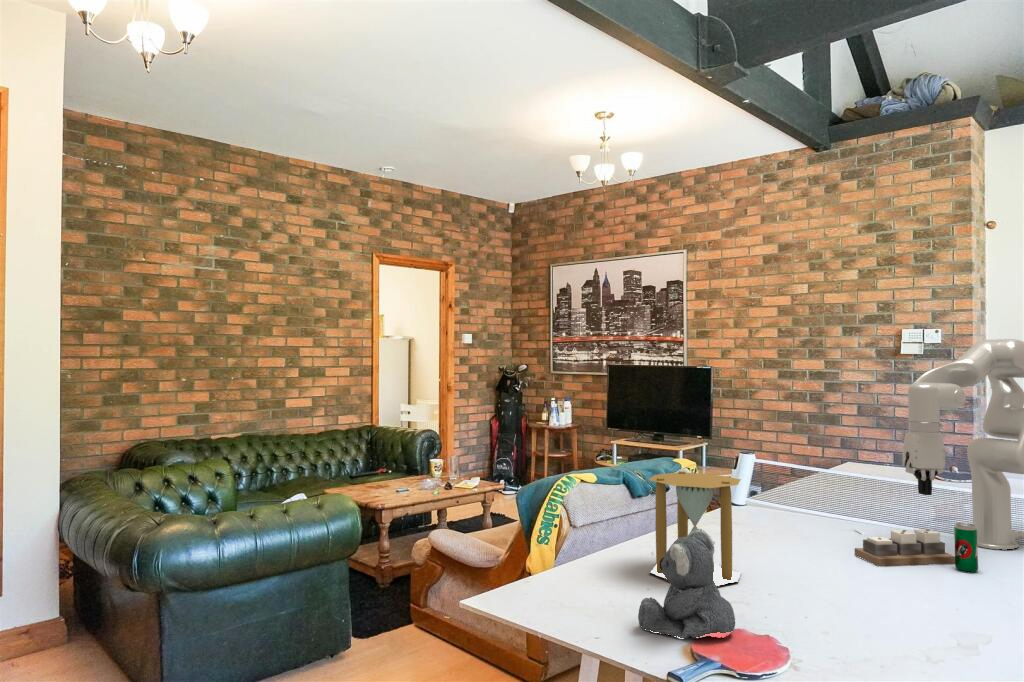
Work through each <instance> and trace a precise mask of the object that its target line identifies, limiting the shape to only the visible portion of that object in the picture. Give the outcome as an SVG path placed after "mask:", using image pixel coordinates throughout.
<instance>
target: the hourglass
mask: <svg viewBox="0 0 1024 682" xmlns="http://www.w3.org/2000/svg"><path fill="white" fill-rule="evenodd" d="M647 480H648V481H651V482H654V483H656V484H655V558H656V559H655V560H656V563H655V564H657V572H658V573H663V572H662V570H661V569H660V560H661V559H662V558H663V557H665V555H666V553H667V551H668V550H667V547H668V546H667V543H668V542H667V538H668V532H667V531H668V528H667V526H668V525H667V523H668V521H667V489H666V485H670V486H675V492H676V493H675V494H676V497H677V500H676V502H677V505H676V506H677V510H676V511H677V513H676V515H677V523H676V524H677V539H679V538H681V537H682V538H683V537H689V535H690V534H691V531H692V532H694V530H697V531H698V529H699V528H698V527H697V525H698V523H699V522H700V520H701V518H702V517H703V515H704V513H705V512H706V510H707V509H708V506H710V504H711V502H712V501H713V500H712V499H713V498H714V497H713V496H714V495H713V494H714V489H715V488H720V558H721V559H720V560H721V563H720V565H721V568H722V577H723V579H727V580H731V577H732V569H733V510H732V507H733V506H732V489H731V487H732V486H733V487H734V486H738V485H739V484H740V481H741V479H740V478H735V477H730V476H725V475H719V474H712V473H699V472H698V473H697V472H686V471H683V470H680V471H678V472H670V473H669V472H668V473H659V474H654V475H653V476H651V477H650V478H649V479H647ZM689 521H690V522H691V523H692V525H693V527H692V528H691V530H690V532H689ZM712 559H713V569H714V563H715V561H714V556H713V557H712Z"/></svg>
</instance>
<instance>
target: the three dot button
mask: <svg viewBox="0 0 1024 682" xmlns="http://www.w3.org/2000/svg"><path fill="white" fill-rule="evenodd" d="M890 539H891V540H892V541H895V542H898V543H900V544H912V543H916V534H915V533H914V532H911V531H909V530H907V529H897V530H896V529H895V530H894V529H892V530H890Z"/></svg>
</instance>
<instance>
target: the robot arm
mask: <svg viewBox="0 0 1024 682" xmlns="http://www.w3.org/2000/svg"><path fill="white" fill-rule="evenodd" d="M986 377H987V378H988V380H989V383H990V387H991V395H990V398H989V402H988V405H987V408H986V411H985V414H984V418H983V421H982V429H983V431H984V433H985V434H986V435H988V436H989V437H979V438H975V439H973V440H971V441H970V442H969V444H967V445H968V446H967V448H966V455H967V460H968V464H969V465H968V466H969V469H970V476H971V496H972V497H971V501H972V503H971V505H972V506H971V509H972V510H971V511H972V524H974V525H975V527H976V529H977V543H978V547H979V546H980V547H979V548H984V549H991V550H999V549H1002V551H1003V550H1005V551H1007V549H1013V550H1015V549H1014V548H1017V547H1018V548H1019V543H1018V542H1017V541H1016V540H1018V539H1024V531H1017V532H1016V531H1015V530H1013V529H1012V499H1011V498H1012V497H1011V496H1012V493H1011V492H1012V491H1011V485H1010V482H1009V481H1008V479H1007V477H1006V476H1005V474H1004V473H1009V474H1016V475H1024V390H1023V388H1022V387H1021V386H1020V384H1019V383H1018V382H1017V381H1016V380H1015V378H1019V379H1020V378H1021V379H1022V378H1023V379H1024V341H1023V340H1019V339H1016V338H1004V339H1001V338H1000V339H999V338H997V339H995V338H994V339H982V340H979V341H977V342H975V343H974V344H973V345H972V346H971V347H969V348H968V349H967V350H966V351H965V352H964V353H962V355H961V356H959V357H958V358H957V359H956V360H955V361H952V362H950V363H947V364H944V365H941V366H938V367H936V368H933V369H930V370H928V371H926V372H925V373H923V374H921V375H920V376H919V377H918V378H917V379H916V380H914V382H913V383H912V384H910V385H909V386H908V388H907V390H908V391H907V398H908V399H907V401H908V432H905V434H904V440H903V444H902V445H903V447H902V455H901V456H902V458H901V459H902V466H903V467H905V470H904V471H905V473H908V474H912V475H914V477H915V479H916V480H917V490H918V494H920V495H923V496H932V494H933V481H934V480H935V477H936V476H937V475H939V474H942V473H944V472H945V467H946V450H945V442H944V438H943V434H942V433H941V429H944V425H943V424H942V423H940V422H941V420H940V417H941V415H940V414H941V413H940V412H941V411H943V410H944V411H953V410H957V409H958V410H959V409H960V408H961V407H962V406H964V404H965V402H966V399H967V398H966V397H967V395H966V392H965V390H964V389H963V388H967V387H971V386H975V385H977V384H979V383H981V382H982V381H983V380H984V379H985V378H986ZM940 410H941V411H940ZM991 437H993V438H991ZM1018 548H1017V549H1018Z"/></svg>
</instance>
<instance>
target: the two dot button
mask: <svg viewBox="0 0 1024 682" xmlns="http://www.w3.org/2000/svg"><path fill="white" fill-rule="evenodd" d="M913 533H915V534H916V540H918V541H921V542H923V543H940V541H941V533H940V532H938V531H936V530H932V529H929V528H928V529H927V528H926V529H913Z"/></svg>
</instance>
